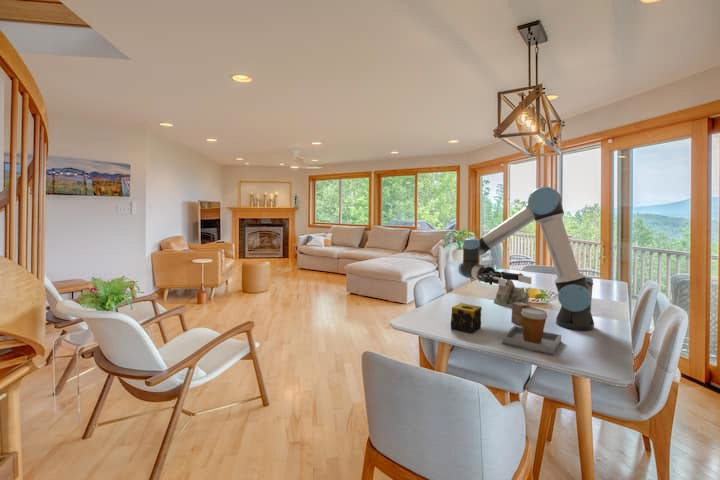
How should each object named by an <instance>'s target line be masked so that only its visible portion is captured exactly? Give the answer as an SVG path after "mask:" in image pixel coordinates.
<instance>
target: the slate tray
mask: <svg viewBox="0 0 720 480" xmlns="http://www.w3.org/2000/svg"><path fill="white" fill-rule="evenodd" d="M561 342H562V334H558V333H553V332H548V331H544V330H543V335H542V340H541V343H532V342H527V341H525V340H524V337H523V326H519V325H513V326H512V327H511V328H510V329H509V330H508V331H507V332H506V333H505V334H503V336H501V345H505V346H510V347H514V348H517V349H522V350H527V351H529V352H530V351H531V352H536V353H540V354H542V355H543V354H544V355H549V356H553V357H554V355H555V354H556V352H557V349H558V348H559V346H560V344H561Z"/></svg>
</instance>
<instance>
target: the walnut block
mask: <svg viewBox="0 0 720 480" xmlns="http://www.w3.org/2000/svg"><path fill="white" fill-rule="evenodd" d="M524 308H530V304H529V305H528V304H525V303H521V302H519V303H512V306H511V319H510V320H511V323H514V324H515V325H517V326H523V322H522V315H521V312H522V309H524Z"/></svg>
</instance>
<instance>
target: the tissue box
mask: <svg viewBox="0 0 720 480" xmlns="http://www.w3.org/2000/svg"><path fill="white" fill-rule="evenodd" d="M482 308H483V307H482V306H479V305H473V304H468V303H465V302H459V303H458V304H456V305H454V306H452V307H451V319H450V329H451V330H453V331H457V332H461V333H465V334H470V335H473V334H475V333H476V332H477V331H479V330H481V329H482V327H481V326H482V321H481V320H482V317H481V316H482Z"/></svg>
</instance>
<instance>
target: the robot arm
mask: <svg viewBox="0 0 720 480" xmlns="http://www.w3.org/2000/svg"><path fill="white" fill-rule="evenodd" d="M564 215H565V211H564V209H563V205H562V197H561V194H560V192H558V191H557V190H556V189H554V188H552V187H549V186H541V187H537V188H536V189H534V190H533V191H532V192H530V194H529V196H528V199H527V203H526V204H525V207H523V208H522V209H521V210H519V211H517V213H515V214H514V215H512V216H511V217H509V218H507V219H506V220H505V221H503V222H502V223H500V224H499V225H497V226H496V227H494V228H493V229H492V230H490V231H489V232H487V233H485V234H484V235H482V237H479V238H475V237H474V238H472V237H471V238H470V237H469V238H467V237H466V238H464V239H463V244H462V247H463V250H462V253H463V254H462V262H460V264H459V265H458V267H457V269H458V273H459V274H460V276H462V277H464V278H467V279H472V280H477V281H478V282H483V283H485V284H489V285H493V284H495V285H498V286H499V285H502V286H505V285H506V281H507V280H510V281H511V280H512V281H518V282H520V283H524V284H528V285H532V277H531V276H528V275H527V276H526V275H524V274H523V273H522V272H520V273H512V272H506V271H499V270H497V271H496V270H495V269H494V268H493V266H489V265H484V264H480V257H481V256H483V255H485V254H486V253H488V252H489V251H490V250H491V249H493V248H495V247H496V246H498V245H499V244H500V243H502V242H503V241H505V240H506V239H508V238H509V237H511V236H513V235H514V234H516V233H518V232H519V231H521V230H522V229H523V228H525V227H527V226H528V225H530V224H531V223H533V222H534V221H535V222H536V223H538V224H539V225H540V228H541V230H542V234H543V236H544V241H545V243H546V247H547V249H548V253H549V256H550V257H551V261H552V265H553V268H554V271H555V274H556V277H557V278H556V279H555V280H554V284H555V286H556V290H557V293H558V294H557V297H558V298H557V299H558V302H559V304H560V305H561V306H560V307H561V308H560V309H559V311H558V313H557V315H556V317H555V323H556V325H558V326H559V327H563V328H565V329H570V330H576V331H593V330H594V329H595V322H594V319H593V315H592V311H591V310H592V309H591V308H592V299H593V298H592V297H593V286H594V280H593V278H592V277H590V276H585V274H583V273H582V272H580V269H579V267H578V264H577V261H576V258H575V254H574V252H573V248H572V246H571V245H572V244H571V243H570V239H569V237H568V234H567V230H566V227H565V224H564V221H563V217H564Z"/></svg>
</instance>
